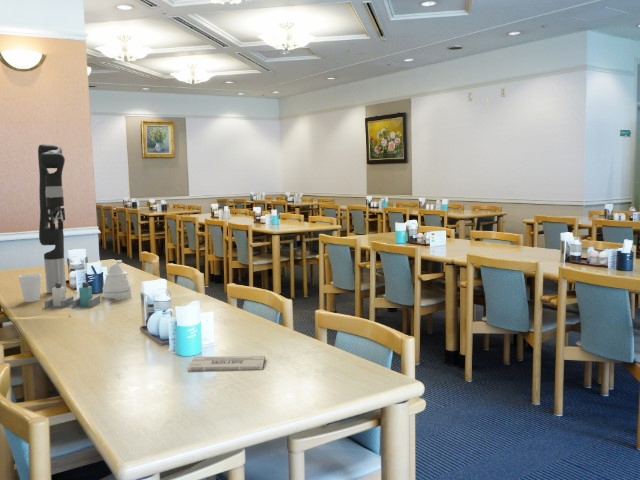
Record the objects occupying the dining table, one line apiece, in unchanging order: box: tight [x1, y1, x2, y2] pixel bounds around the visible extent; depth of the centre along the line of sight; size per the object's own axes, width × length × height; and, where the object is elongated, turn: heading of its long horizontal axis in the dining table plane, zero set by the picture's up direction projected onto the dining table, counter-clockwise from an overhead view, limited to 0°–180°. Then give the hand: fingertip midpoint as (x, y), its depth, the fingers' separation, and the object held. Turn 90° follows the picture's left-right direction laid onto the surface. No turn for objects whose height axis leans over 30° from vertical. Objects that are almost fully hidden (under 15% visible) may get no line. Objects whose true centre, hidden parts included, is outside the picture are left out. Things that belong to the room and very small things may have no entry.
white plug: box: [51, 283, 67, 306], centre depth 257 cm, size 4×4×10 cm
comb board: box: [42, 295, 102, 309], centre depth 258 cm, size 12×22×4 cm, turn 91°
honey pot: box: [102, 259, 132, 301], centre depth 277 cm, size 13×13×18 cm
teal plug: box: [78, 281, 93, 306], centre depth 257 cm, size 4×4×10 cm
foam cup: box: [18, 273, 42, 303], centre depth 269 cm, size 10×9×13 cm
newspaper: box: [187, 355, 266, 373], centre depth 174 cm, size 23×12×2 cm, turn 91°
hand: (56, 230), depth 270 cm, fingers open, 8 cm apart
